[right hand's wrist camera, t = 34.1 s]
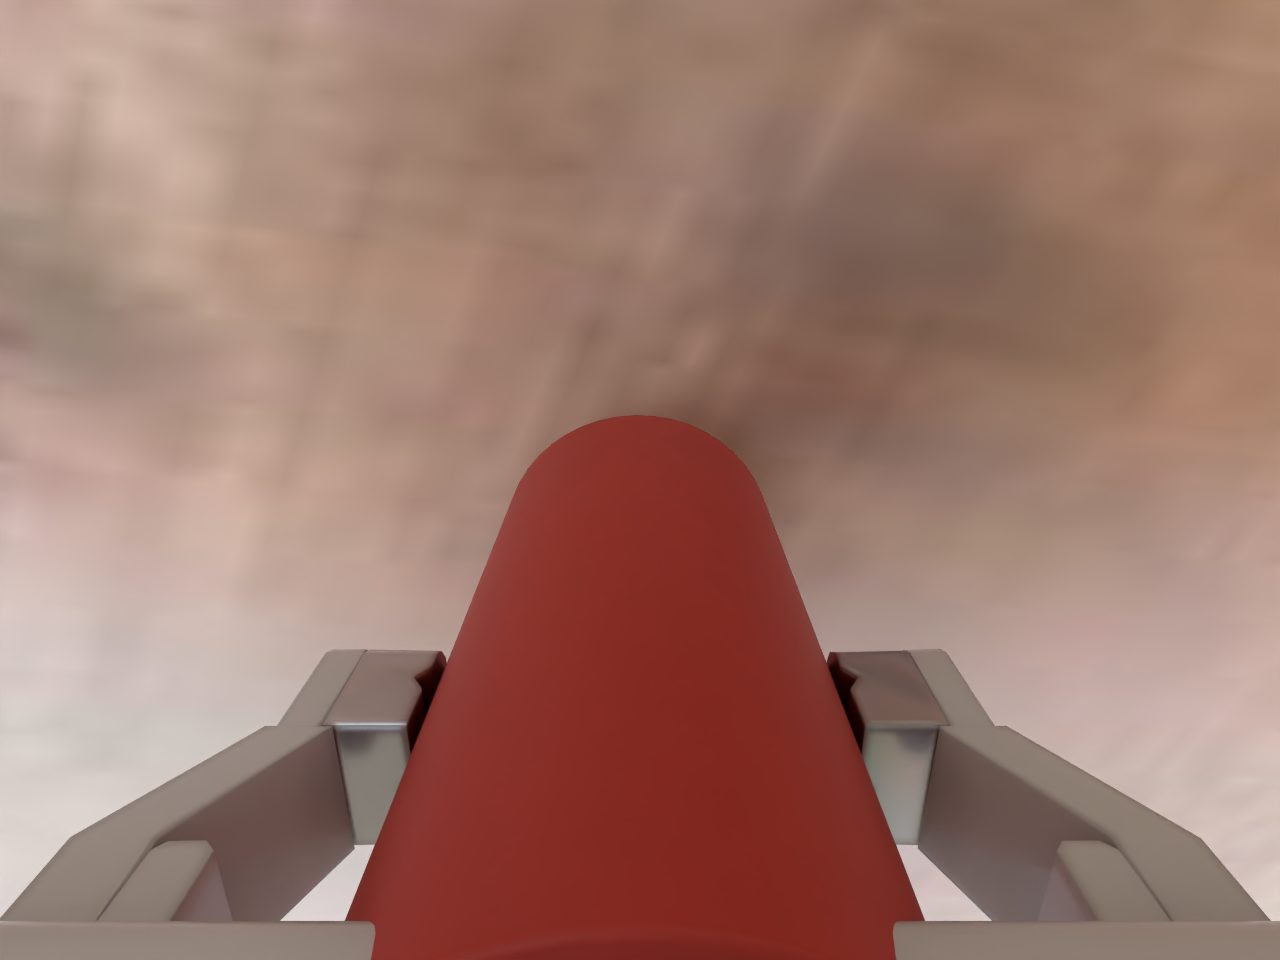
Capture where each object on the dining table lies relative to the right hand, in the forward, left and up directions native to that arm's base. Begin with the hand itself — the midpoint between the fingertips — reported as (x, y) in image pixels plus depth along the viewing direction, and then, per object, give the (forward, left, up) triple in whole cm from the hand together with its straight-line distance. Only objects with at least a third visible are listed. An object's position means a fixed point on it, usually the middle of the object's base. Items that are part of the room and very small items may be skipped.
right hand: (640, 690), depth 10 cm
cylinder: (0, 0, -5) cm, 5 cm away
